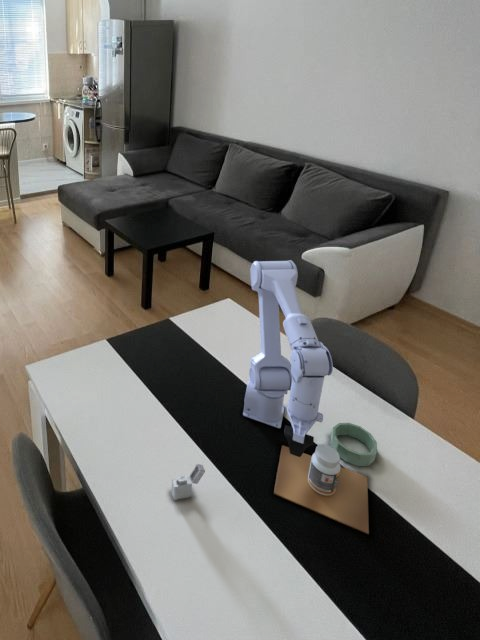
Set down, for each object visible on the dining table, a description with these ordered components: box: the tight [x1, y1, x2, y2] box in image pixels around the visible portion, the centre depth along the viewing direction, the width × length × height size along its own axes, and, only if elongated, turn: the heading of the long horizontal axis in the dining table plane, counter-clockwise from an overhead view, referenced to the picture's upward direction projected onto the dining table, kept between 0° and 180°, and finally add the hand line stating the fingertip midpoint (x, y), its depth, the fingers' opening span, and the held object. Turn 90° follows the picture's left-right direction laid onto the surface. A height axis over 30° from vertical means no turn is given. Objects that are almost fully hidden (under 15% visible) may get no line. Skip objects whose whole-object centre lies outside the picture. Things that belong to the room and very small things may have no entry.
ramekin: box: [329, 422, 378, 467], centre depth 105 cm, size 9×9×4 cm
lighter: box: [171, 463, 206, 501], centre depth 96 cm, size 7×2×8 cm, turn 99°
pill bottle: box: [308, 443, 341, 496], centre depth 95 cm, size 6×6×10 cm
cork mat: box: [273, 444, 370, 535], centre depth 97 cm, size 18×14×1 cm
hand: (297, 440), depth 97 cm, fingers open, 7 cm apart
